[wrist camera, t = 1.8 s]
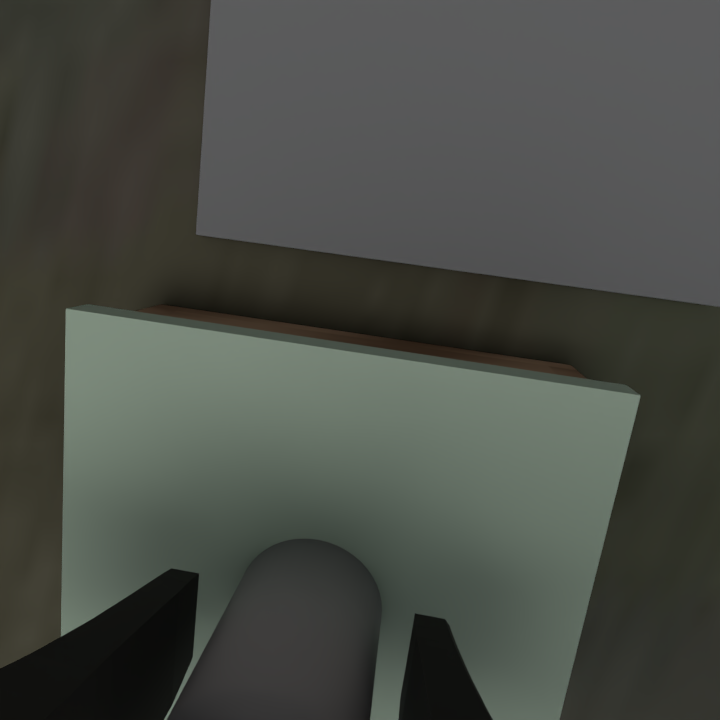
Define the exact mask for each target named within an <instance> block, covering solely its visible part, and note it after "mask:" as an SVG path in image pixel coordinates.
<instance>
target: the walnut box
mask: <svg viewBox="0 0 720 720" xmlns="http://www.w3.org/2000/svg"><path fill="white" fill-rule="evenodd" d="M136 312H143V313H150V314H156V315H163V316H170V317H176V318H183V319H190V320H196V321H203V322H210V323H216V324H223V325H230V326H236V327H243V328H250V329H256V330H263V331H270V332H276V333H283V334H290V335H296V336H303V337H310V338H316V339H323V340H330V341H336V342H343V343H350V344H356V345H363V346H370V347H376V348H383V349H390V350H396V351H403V352H410V353H416V354H423V355H430V356H436V357H443V358H450V359H456V360H463V361H470V362H476V363H483V364H490V365H496V366H503V367H510V368H517V369H523V370H530V371H537V372H543V373H550V374H557V375H563V376H570V377H577V378H583V379H587V378H585V377H584V376H583V375H582V374H581V373H580V372H578V371H577V370H576V369H575V368H574V367H572V366H571V365H567V364H560V363H553V362H547V361H540V360H533V359H526V358H520V357H513V356H506V355H499V354H493V353H486V352H479V351H472V350H466V349H459V348H452V347H445V346H439V345H432V344H425V343H419V342H412V341H405V340H398V339H392V338H385V337H378V336H371V335H365V334H358V333H351V332H344V331H338V330H331V329H324V328H317V327H311V326H304V325H297V324H290V323H284V322H277V321H270V320H264V319H257V318H250V317H243V316H237V315H230V314H223V313H216V312H210V311H203V310H196V309H189V308H183V307H176V306H169V305H162V304H161V305H157V306H153V307H149V308H145V309H141V310H137V311H136Z"/></svg>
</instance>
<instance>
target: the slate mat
mask: <svg viewBox="0 0 720 720" xmlns="http://www.w3.org/2000/svg"><path fill="white" fill-rule="evenodd" d="M196 235H202V236H210V237H217V238H224V239H231V240H239V241H246V242H253V243H260V244H268V245H275V246H282V247H289V248H297V249H304V250H311V251H318V252H326V253H333V254H340V255H347V256H355V257H362V258H369V259H376V260H384V261H391V262H398V263H405V264H413V265H420V266H427V267H435V268H442V269H449V270H456V271H464V272H471V273H478V274H485V275H493V276H500V277H507V278H514V279H522V280H529V281H536V282H543V283H551V284H558V285H565V286H572V287H580V288H587V289H594V290H601V291H609V292H616V293H623V294H630V295H638V296H645V297H652V298H659V299H667V300H674V301H681V302H688V303H696V304H703V305H710V306H717V307H720V0H211V10H210V25H209V41H208V56H207V72H206V87H205V103H204V118H203V134H202V149H201V164H200V180H199V195H198V211H197V226H196Z"/></svg>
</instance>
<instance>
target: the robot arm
mask: <svg viewBox="0 0 720 720" xmlns="http://www.w3.org/2000/svg"><path fill="white" fill-rule="evenodd" d="M198 582H199V573H195V572H189V571H184V570H178V569H173V568H171V569H169V570H168V571H166V572H164V573H163V574H161V575H160V576H158V577H156V578H155V579H153V580H152V581H150V582H149V583H147V584H146V585H144V586H143V587H141V588H140V589H138V590H137V591H135V592H134V593H132V594H130V595H129V596H127V597H126V598H124V599H123V600H121V601H120V602H118V603H116V604H115V605H113V606H112V607H110V608H109V609H107V610H105V611H104V612H102V613H101V614H99V615H97V616H96V617H94V618H93V619H91V620H89V621H88V622H86V623H84V624H82V625H81V626H79V627H77V628H75V629H74V630H72V631H70V632H68V633H67V634H65V635H63V636H61V637H60V638H58V639H56V640H54V641H53V642H51V643H49V644H47V645H46V646H44V647H42V648H40V649H38V650H37V651H35V652H33V653H31V654H29V655H27V656H25V657H23V658H21V659H19V660H17V661H15V662H13V663H11V664H9V665H7V666H5V667H3V668H0V720H164V719H165V717H166V715H167V713H168V712H169V710H170V708H171V706H172V704H173V702H174V700H175V697H176V695H177V693H178V691H179V688H180V686H181V684H182V682H183V679H184V677H185V674H186V672H187V670H188V667H189V665H190V663H191V660H192V658H193V648H194V635H195V622H196V609H197V595H198ZM399 720H493V719H492V717H491V715H490V714H489V712H488V710H487V708H486V706H485V704H484V702H483V700H482V698H481V696H480V694H479V692H478V690H477V688H476V686H475V684H474V682H473V680H472V678H471V676H470V674H469V672H468V670H467V667H466V665H465V663H464V661H463V658H462V656H461V654H460V652H459V649H458V647H457V644H456V642H455V639H454V637H453V634H452V631H451V628H450V625H449V624H448V622H447V621H446V620H445V619H443V618H437V617H432V616H426V615H421V614H416V613H415V616H414V622H413V628H412V633H411V639H410V645H409V651H408V656H407V662H406V668H405V673H404V679H403V685H402V691H401V696H400V707H399Z"/></svg>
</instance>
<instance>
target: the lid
mask: <svg viewBox="0 0 720 720" xmlns="http://www.w3.org/2000/svg"><path fill="white" fill-rule="evenodd" d="M640 396H641V395H639V394H638V393H637V392H635V391H634V390H632V389H631V388H630V387H628V386H627V385H623V384H617V383H610V382H603V381H597V380H590V379H583V378H577V377H570V376H563V375H557V374H550V373H543V372H537V371H530V370H523V369H517V368H510V367H503V366H496V365H490V364H483V363H476V362H470V361H463V360H456V359H450V358H443V357H436V356H430V355H423V354H416V353H410V352H403V351H396V350H390V349H383V348H376V347H370V346H363V345H356V344H350V343H343V342H336V341H330V340H323V339H316V338H310V337H303V336H296V335H290V334H283V333H276V332H270V331H263V330H256V329H250V328H243V327H236V326H230V325H223V324H216V323H210V322H203V321H196V320H190V319H183V318H176V317H170V316H163V315H156V314H150V313H143V312H136V311H130V310H123V309H116V308H110V307H103V306H96V305H90V304H87V305H82V306H77V307H72V308H67V309H66V338H65V404H64V470H63V536H62V602H61V636H63V635H65V634H67V633H68V632H70V631H72V630H74V629H75V628H77V627H79V626H81V625H82V624H84V623H86V622H88V621H89V620H91V619H93V618H94V617H96V616H97V615H99V614H101V613H102V612H104V611H105V610H107V609H109V608H110V607H112V606H113V605H115V604H116V603H118V602H120V601H121V600H123V599H124V598H126V597H127V596H129V595H130V594H132V593H134V592H135V591H137V590H138V589H140V588H141V587H143V586H144V585H146V584H147V583H149V582H150V581H152V580H153V579H155V578H156V577H158V576H160V575H161V574H163V573H164V572H166V571H168V570H169V569H171V568H173V569H178V570H184V571H189V572H195V573H199V582H198V595H197V609H196V622H195V635H194V648H193V658H192V660H191V663H190V665H189V667H188V670H187V672H186V674H185V677H184V679H183V682H182V684H181V686H180V688H179V691H178V693H177V695H176V697H175V700H174V702H173V704H172V706H171V708H170V710H169V712H168V713H167V715H166V717H165V719H164V720H399V707H400V696H401V691H402V685H403V679H404V673H405V668H406V662H407V656H408V651H409V645H410V639H411V633H412V628H413V622H414V616H415V613H416V614H421V615H426V616H432V617H437V618H443V619H445V620H446V621H447V622H448V624H449V625H450V628H451V631H452V634H453V637H454V639H455V642H456V644H457V647H458V649H459V652H460V654H461V656H462V658H463V661H464V663H465V665H466V667H467V670H468V672H469V674H470V676H471V678H472V680H473V682H474V684H475V686H476V688H477V690H478V692H479V694H480V696H481V698H482V700H483V702H484V704H485V706H486V708H487V710H488V712H489V714H490V715H491V717H492V719H493V720H559V719H560V715H561V711H562V707H563V703H564V699H565V695H566V691H567V687H568V683H569V679H570V675H571V671H572V667H573V663H574V659H575V655H576V651H577V647H578V643H579V639H580V635H581V631H582V627H583V623H584V619H585V615H586V611H587V607H588V603H589V599H590V595H591V591H592V588H593V584H594V580H595V576H596V572H597V568H598V564H599V560H600V556H601V552H602V548H603V544H604V540H605V536H606V532H607V528H608V524H609V520H610V516H611V512H612V508H613V504H614V500H615V496H616V492H617V488H618V484H619V480H620V476H621V472H622V468H623V464H624V460H625V456H626V452H627V448H628V444H629V440H630V436H631V432H632V428H633V424H634V420H635V416H636V412H637V408H638V404H639V400H640Z"/></svg>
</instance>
